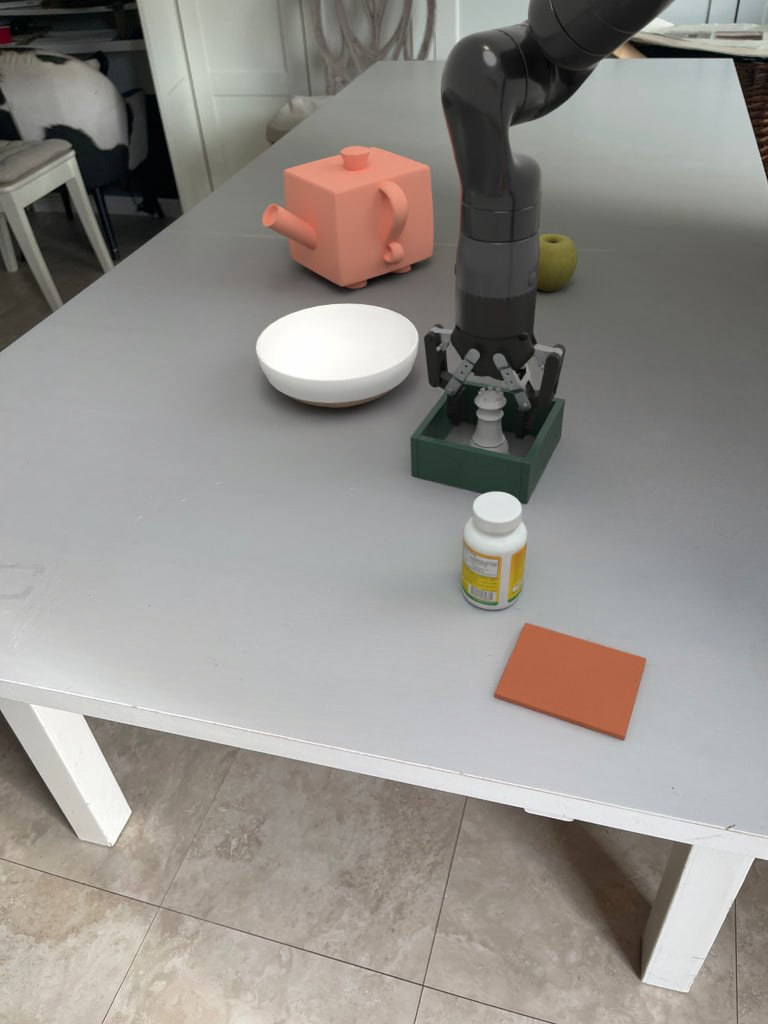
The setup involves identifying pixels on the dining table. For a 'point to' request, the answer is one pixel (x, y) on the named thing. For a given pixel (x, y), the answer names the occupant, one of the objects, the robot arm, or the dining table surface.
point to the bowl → (338, 353)
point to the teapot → (356, 215)
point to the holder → (481, 465)
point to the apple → (555, 261)
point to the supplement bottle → (494, 551)
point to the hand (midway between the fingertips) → (489, 428)
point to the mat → (572, 680)
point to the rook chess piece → (490, 421)
